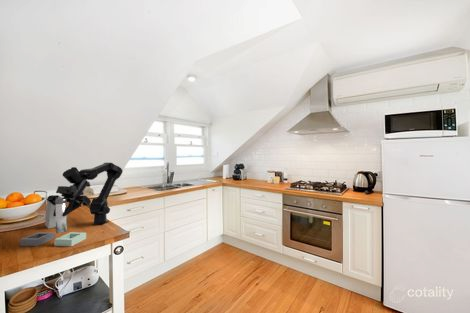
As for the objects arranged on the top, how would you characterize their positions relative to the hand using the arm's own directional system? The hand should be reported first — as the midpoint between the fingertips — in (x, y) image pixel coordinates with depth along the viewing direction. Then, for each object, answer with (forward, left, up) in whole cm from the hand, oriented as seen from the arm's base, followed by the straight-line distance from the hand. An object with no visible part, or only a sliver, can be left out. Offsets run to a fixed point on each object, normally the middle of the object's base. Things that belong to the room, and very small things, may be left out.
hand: (58, 216), depth 93 cm
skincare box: (-23, -25, -14) cm, 36 cm away
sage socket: (-2, +4, -13) cm, 14 cm away
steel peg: (-1, 0, -8) cm, 8 cm away
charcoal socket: (-2, -12, -13) cm, 18 cm away
